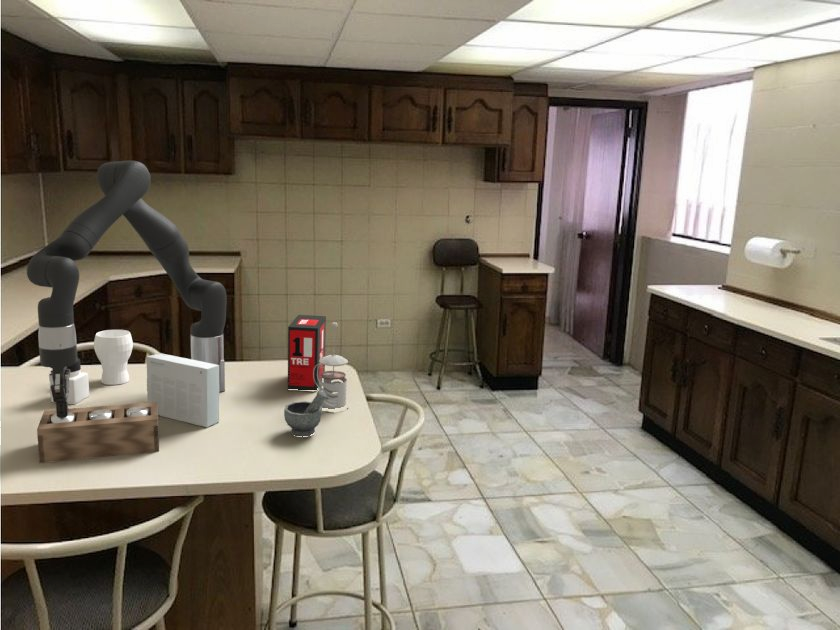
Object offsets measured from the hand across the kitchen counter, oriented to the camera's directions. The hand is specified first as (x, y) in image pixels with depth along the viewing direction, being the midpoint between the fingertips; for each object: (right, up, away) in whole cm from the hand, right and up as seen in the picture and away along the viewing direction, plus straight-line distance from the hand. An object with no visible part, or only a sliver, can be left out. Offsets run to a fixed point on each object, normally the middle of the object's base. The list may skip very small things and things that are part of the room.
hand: (62, 415), depth 158 cm
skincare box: (+19, -4, +25) cm, 32 cm away
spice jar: (+7, -5, +4) cm, 9 cm away
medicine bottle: (-15, -1, +34) cm, 37 cm away
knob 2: (+15, -4, +7) cm, 17 cm away
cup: (-10, +3, +50) cm, 51 cm away
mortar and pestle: (+53, -7, +19) cm, 57 cm away
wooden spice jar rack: (+7, -8, +5) cm, 12 cm away
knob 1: (0, -5, +1) cm, 5 cm away
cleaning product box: (+47, +2, +58) cm, 75 cm away
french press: (+57, -3, +39) cm, 69 cm away
